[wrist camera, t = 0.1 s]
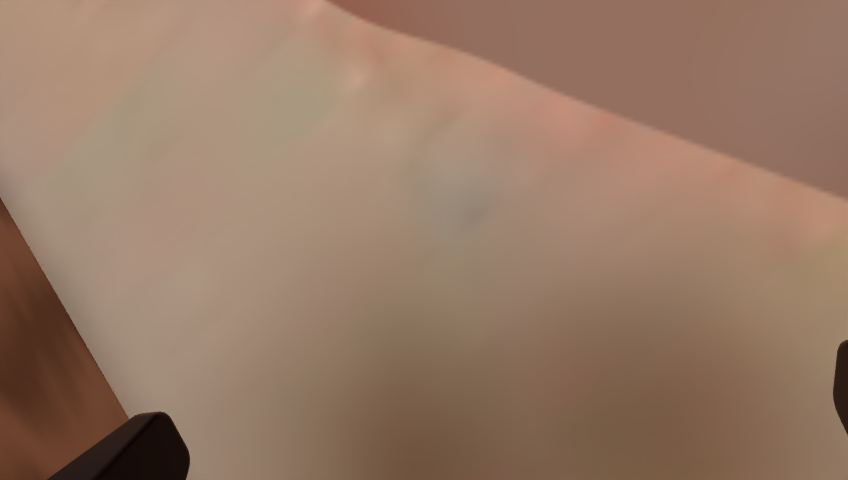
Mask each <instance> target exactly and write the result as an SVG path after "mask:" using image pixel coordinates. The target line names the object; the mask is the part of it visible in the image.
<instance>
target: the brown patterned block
mask: <svg viewBox="0 0 848 480" xmlns="http://www.w3.org/2000/svg"><path fill="white" fill-rule="evenodd" d="M128 420H129V418H128V416H127V415H126V413H125V411H124V410H123V408H122V406H121V404H120V403H119V401H118V399H117V398H116V396H115V394H114V392H113V391H112V389H111V387H110V386H109V384H108V382H107V380H106V379H105V377H104V375H103V373H102V372H101V370H100V368H99V367H98V365H97V363H96V361H95V360H94V358H93V356H92V355H91V353H90V351H89V349H88V348H87V346H86V344H85V343H84V341H83V339H82V337H81V336H80V334H79V332H78V331H77V329H76V327H75V325H74V324H73V322H72V320H71V318H70V317H69V315H68V313H67V312H66V310H65V308H64V306H63V305H62V303H61V301H60V300H59V298H58V296H57V294H56V293H55V291H54V289H53V288H52V286H51V284H50V282H49V281H48V279H47V277H46V275H45V274H44V272H43V270H42V269H41V267H40V265H39V263H38V262H37V260H36V258H35V257H34V255H33V253H32V251H31V250H30V248H29V246H28V245H27V243H26V241H25V239H24V238H23V236H22V234H21V233H20V231H19V229H18V227H17V226H16V224H15V222H14V220H13V219H12V217H11V215H10V214H9V212H8V210H7V208H6V207H5V205H4V203H3V202H2V200H1V198H0V480H46V479H48V478H49V477H51V476H52V475H53V474H55V473H56V472H58V471H59V470H60V469H62V468H63V467H64V466H66V465H67V464H69V463H70V462H71V461H73V460H74V459H75V458H77V457H78V456H80V455H81V454H82V453H84V452H85V451H87V450H88V449H89V448H91V447H92V446H93V445H95V444H96V443H98V442H99V441H100V440H102V439H103V438H105V437H106V436H107V435H109V434H110V433H111V432H113V431H114V430H116V429H117V428H118V427H120V426H121V425H122V424H124V423H125V422H127V421H128Z"/></svg>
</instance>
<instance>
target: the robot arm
mask: <svg viewBox="0 0 848 480" xmlns="http://www.w3.org/2000/svg"><path fill="white" fill-rule="evenodd" d="M833 399H834V404H835V408H836V411H837V413H838V415H839V418H840V420H841V422H842V424H843V426H844V428H845V430H846V433H847V435H848V340H845V341H844V342H842V343H841V344H840V346H839V347H838V351H837V359H836V369H835V378H834V387H833ZM189 465H190V455H189V451H188V449H187V447H186V445H185V443H184V441H183V439H182V437H181V436H180V434H179V432H178V430H177V428H176V426H175V425H174V423H173V421H172V419H171V418H170V416H169V415H167V414H166V413H165V412H150V413H142V414H138V415H135V416H134V417H132V418H131V419H129V420H128V421H127V422H125V423H124V424H122V425H121V426H120V427H118V428H117V429H116V430H114V431H113V432H111V433H110V434H109V435H107V436H106V437H105V438H103V439H102V440H100V441H99V442H98V443H96V444H95V445H93V446H92V447H91V448H89V449H88V450H87V451H85V452H84V453H82V454H81V455H80V456H78V457H77V458H75V459H74V460H73V461H71V462H70V463H69V464H67V465H66V466H64V467H63V468H62V469H60V470H59V471H58V472H56V473H55V474H53V475H52V476H51V477H49V478H48V479H46V480H186V477H187V474H188V470H189Z"/></svg>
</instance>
